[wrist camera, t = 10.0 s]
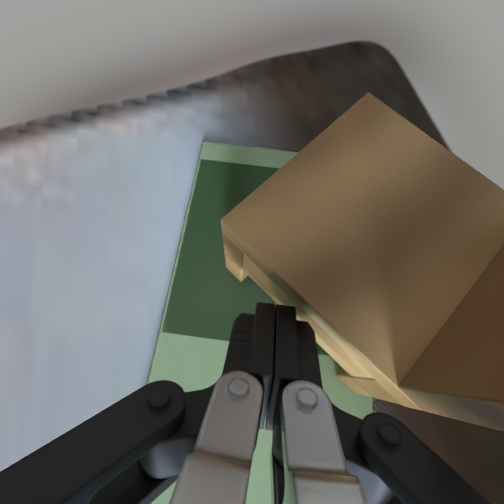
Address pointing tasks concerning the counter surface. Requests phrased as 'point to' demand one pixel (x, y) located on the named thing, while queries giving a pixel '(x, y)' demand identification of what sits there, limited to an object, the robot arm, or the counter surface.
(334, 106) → the counter surface
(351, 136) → the chair
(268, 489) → the mat
